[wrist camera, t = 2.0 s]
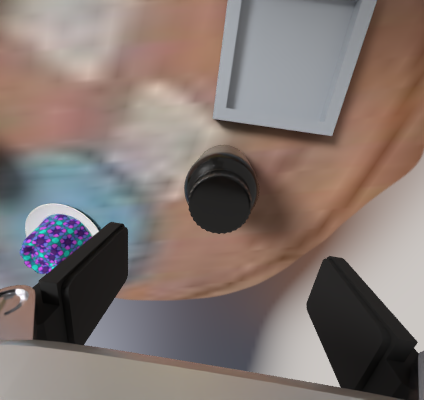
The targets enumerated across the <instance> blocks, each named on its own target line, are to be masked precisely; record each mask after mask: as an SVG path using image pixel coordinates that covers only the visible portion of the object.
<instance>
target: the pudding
mask: <svg viewBox="0 0 424 400" xmlns="http://www.w3.org/2000/svg"><path fill="white" fill-rule="evenodd" d="M53 214H66V215H69V216H72V217H74V218H76V219H78V220H79V221H78V220H76V219H71V220H70V219H69V218H68V217H67V216H65V215H56V216H55V217H54V218H50V217H49V218H46V217H48V216H50V215H53ZM45 218H46V219H45ZM44 219H45V220H44ZM43 220H44V221H43ZM42 221H43V222H42ZM80 221H81V222H82V223H83V224H84V225H85V226H86V227H87V228H88V230H89V231H90V233H91V235H92V236H91V235H90V233H89V232H87V231H86V230H85V229H84V225H83V224H82V223H81V222H80ZM25 232H26V237H27V238H26V239H25V240H24V242H23V244H22V248H21V249H20V255H21V257H22V258H23V259H24V263H25V264H26V266H28V267H29V268H32V269H33V270H34V271H35V272H37V273H40V274H45V273H46V274H47V273H49V272H50V271H51V270H52V269H53V268H55V267H56V266H57V265H58V264H60V263H61V262H62V261H63V260H64V259H66V258H67V257H68V256H69V255H71V254H72V253H73V252H74V251H75V250H77V249H78V248H79V247H80V246H82V245H83V244H84V243H85V242H87V241H88V240H89V239H90V238H91V237H93V236H94V235H95V234H96V233H98V232H99V230H98V229H97V227H96V226H95V225H94V223H93V222H92V221H91V220H90V219H89V218H88V217H86V216H85V215H84V214H83V213H81V212H79V211H78V210H76V209H74V208H72V207H69V206H66V205H62V204H45V205H41V206H39V207H37V208H35V209H34V210H33V211H32V212H31V213H30V214H29V216H28V218H27V220H26V224H25Z"/></svg>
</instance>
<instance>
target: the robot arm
mask: <svg viewBox="0 0 424 400" xmlns="http://www.w3.org/2000/svg"><path fill="white" fill-rule="evenodd" d="M127 276H128V229H127V228H126V227H125V226H124V224H121V223H114V222H110V223H109V224H107V225H106V226H105V227H104V228H102V229H101V230H100V231H99V232H98V233H96V234H95V235H94V236H93V237H91V238H90V239H89V240H88V241H87V242H85V243H84V244H83V245H82V246H80V247H79V248H78V249H77V250H75V251H74V252H73V253H72V254H71V255H69V256H68V257H67V258H66V259H64V260H63V261H62V262H61V263H60V264H58V265H57V266H56V267H55V268H53V269H52V270H51V271H50V272H49V273H47V274H46V275H45V276H44V277H42V278H41V279H40V280H39V283H38V284H37V285H35V286H34V287H33V288H31V287H29V286H25V285H16V286H10V287H6V288H3V289H0V400H424V351H423V352H420V353H418V352H417V351H416V350H415V349H414V347H415V345H416V344H417V341H416V340H415V339H414V337H413V336H412V335H411V334H410V333H409V332H408V331H407V330H406V328H405V327H404V326H403V325H402V324H401V323H400V322H399V321H398V319H397V318H396V317H395V316H394V315H393V314H392V313H391V312H390V310H389V309H388V308H387V307H386V306H385V305H384V304H383V302H382V301H381V300H380V299H379V298H378V297H377V296H376V295H375V293H374V292H373V291H372V290H371V289H370V288H369V287H368V285H366V283H365V282H364V281H363V280H362V279H361V278H360V277H359V275H358V274H357V273H356V272H355V271H354V270H353V269H352V267H351V266H350V265H349V264H348V263H347V262H346V261H345V260H344V259H343V258H338V257H332V256H329V257H327V259H324V260H323V262H322V264H321V267H320V269H319V272H318V275H317V277H316V280H315V283H314V285H313V288H312V290H311V293H310V296H309V298H308V301H307V311H308V313H309V315H310V318H311V320H312V322H313V325H314V327H315V329H316V332H317V334H318V336H319V338H320V341H321V343H322V345H323V348H324V350H325V352H326V354H327V357H328V359H329V362H330V364H331V366H332V368H333V371H334V373H335V375H336V378H337V380H338V382H339V384H340V387H341V388H340V387H333V386H328V385H323V384H317V383H311V382H305V381H300V380H293V379H288V378H282V377H277V376H270V375H264V374H259V373H253V372H247V371H241V370H235V369H229V368H223V367H217V366H211V365H205V364H199V363H193V362H187V361H181V360H175V359H169V358H162V357H156V356H150V355H144V354H138V353H132V352H125V351H118V350H113V349H106V348H99V347H92V346H85V345H84V344H85V342H86V341H87V339H88V338H89V336H90V335H91V333H92V332H93V330H94V329H95V327H96V326H97V324H98V322H99V321H100V319H101V318H102V316H103V315H104V313H105V312H106V310H107V309H108V307H109V306H110V304H111V303H112V301H113V300H114V298H115V297H116V295H117V294H118V292H119V291H120V289H121V287H122V286H123V284H124V283H125V281H126V279H127Z"/></svg>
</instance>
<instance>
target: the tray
mask: <svg viewBox="0 0 424 400" xmlns="http://www.w3.org/2000/svg"><path fill="white" fill-rule="evenodd" d="M376 2H377V0H228V3H227V10H226V18H225V26H224V34H223V42H222V50H221V58H220V65H219V73H218V81H217V89H216V97H215V105H214V113H213V119H218V120H225V121H231V122H238V123H245V124H252V125H259V126H266V127H273V128H279V129H286V130H293V131H300V132H307V133H314V134H321V135H328V136H332V135H333V132H334V129H335V126H336V123H337V120H338V117H339V114H340V111H341V107H342V104H343V101H344V98H345V95H346V92H347V89H348V86H349V83H350V80H351V77H352V74H353V71H354V68H355V65H356V62H357V59H358V56H359V53H360V50H361V47H362V44H363V41H364V38H365V35H366V32H367V29H368V26H369V23H370V20H371V17H372V14H373V11H374V8H375V5H376Z"/></svg>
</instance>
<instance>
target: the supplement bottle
mask: <svg viewBox="0 0 424 400" xmlns="http://www.w3.org/2000/svg"><path fill="white" fill-rule="evenodd" d="M184 192H185V198H186V201H187V203H188V205H189V211H190V212H191V216H192V217H193V220H194V221H195V222H196V223H197V225H199V226H200V227H201V228H202V229H205V230H206V231H210V232H212V233H218V234H220V233H224V234H225V233H227V232H232V231H234V230H236V229H237V228H239V227H241V226H242V224H244V223H245V222H246V220H247V219H248V217H249V214H250V213H251V210H252V209H253V208H254V206H255V204H256V202H257V199H258V194H259V184H258V179H257V176H256V174H255V172H254V170H253V168H252V166H251V164H250V163H249V161H248V159H247V158H246V156H245V155H244V154H243V153H242V152H241V151H240V150H238V149H237V148H235V147H232V146H228V145H218V146H214V147H212V148H210V149H208V150H207V151H206V152H204V153H203V154H202V155H201V157H200V158H199V159H198V160H197V161H196V162H195V163H194V165H193V166H192V167H191V169H190V170H189V172H188V174H187V177H186V180H185V185H184Z"/></svg>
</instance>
